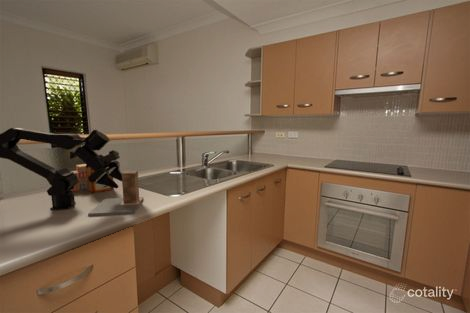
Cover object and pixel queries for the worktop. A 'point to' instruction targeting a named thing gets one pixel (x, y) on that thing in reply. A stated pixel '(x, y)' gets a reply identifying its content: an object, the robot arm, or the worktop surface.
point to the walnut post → (130, 187)
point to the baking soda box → (97, 187)
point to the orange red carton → (81, 178)
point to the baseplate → (115, 207)
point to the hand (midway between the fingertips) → (121, 184)
